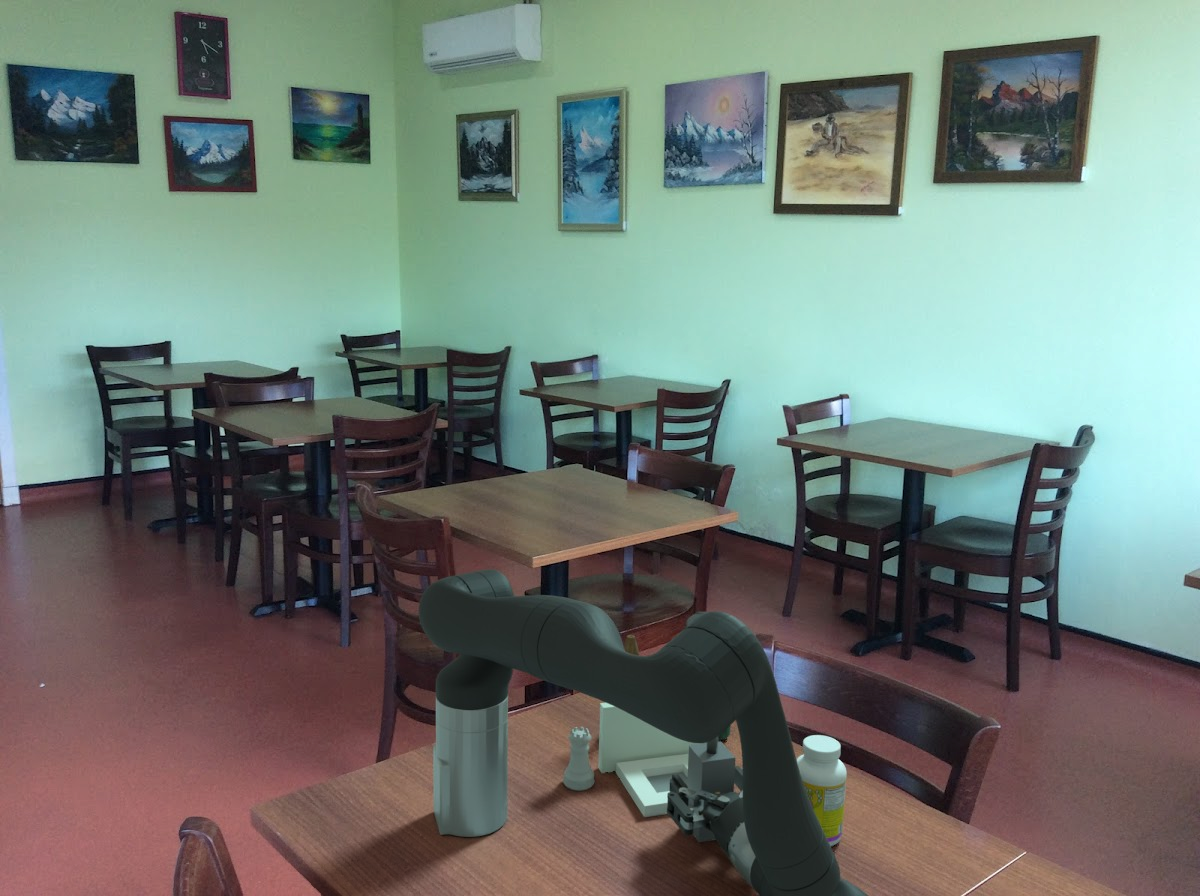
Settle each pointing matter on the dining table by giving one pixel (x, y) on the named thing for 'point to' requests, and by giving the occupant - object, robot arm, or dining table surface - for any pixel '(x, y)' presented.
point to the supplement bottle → (824, 783)
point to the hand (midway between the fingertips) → (704, 776)
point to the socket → (641, 758)
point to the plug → (710, 775)
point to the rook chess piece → (579, 762)
